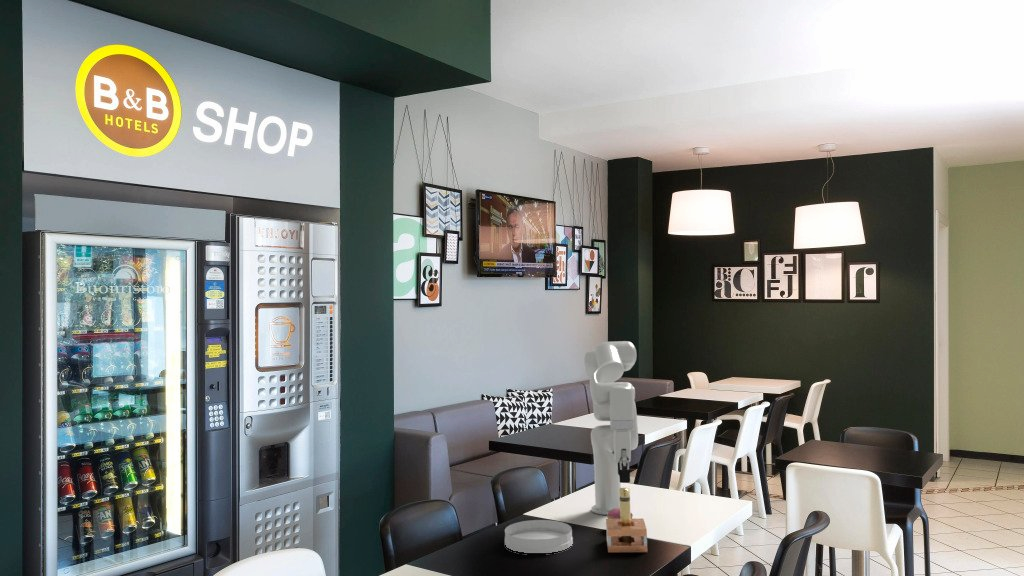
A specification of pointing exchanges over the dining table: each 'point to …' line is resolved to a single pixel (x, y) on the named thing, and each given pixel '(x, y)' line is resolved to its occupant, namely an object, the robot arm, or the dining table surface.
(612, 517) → the cupcake
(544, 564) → the dining table surface
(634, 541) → the collar stand
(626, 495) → the air tube
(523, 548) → the dish
